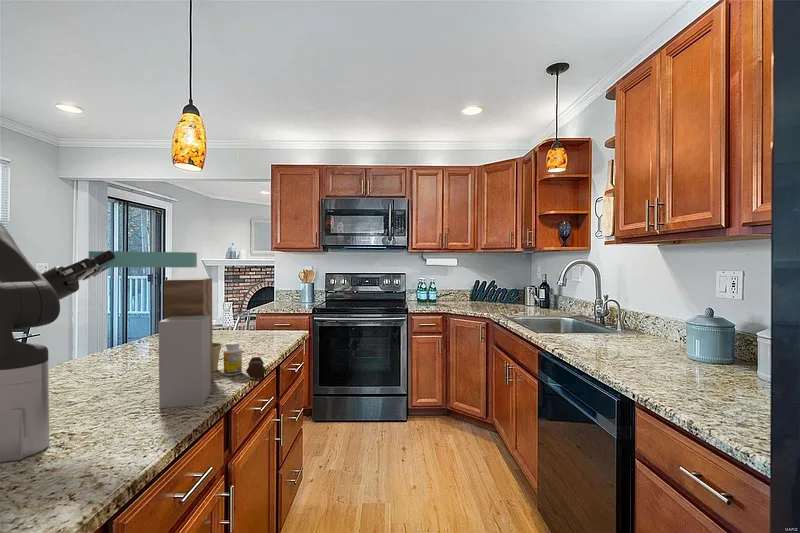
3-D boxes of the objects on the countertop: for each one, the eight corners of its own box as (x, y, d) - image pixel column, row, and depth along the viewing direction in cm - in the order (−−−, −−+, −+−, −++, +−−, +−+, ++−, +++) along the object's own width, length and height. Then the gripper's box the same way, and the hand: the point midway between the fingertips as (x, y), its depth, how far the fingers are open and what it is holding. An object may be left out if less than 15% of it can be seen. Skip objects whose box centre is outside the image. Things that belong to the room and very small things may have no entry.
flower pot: (192, 368, 139) (192, 344, 139) (222, 365, 143) (222, 341, 143) (191, 376, 131) (190, 349, 131) (222, 372, 135) (222, 346, 134)
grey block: (202, 405, 104) (201, 320, 104) (159, 408, 102) (158, 321, 102) (210, 392, 114) (210, 315, 114) (171, 395, 112) (170, 316, 111)
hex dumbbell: (258, 371, 143) (258, 382, 129) (245, 365, 142) (243, 375, 127) (266, 356, 144) (267, 365, 130) (253, 350, 143) (253, 359, 128)
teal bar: (192, 267, 107) (192, 252, 107) (88, 267, 101) (88, 251, 101) (196, 267, 111) (196, 252, 111) (96, 266, 105) (96, 251, 105)
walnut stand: (203, 392, 115) (203, 279, 114) (164, 394, 112) (163, 280, 112) (212, 379, 126) (212, 278, 126) (177, 382, 124) (176, 278, 123)
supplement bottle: (224, 372, 135) (224, 341, 135) (242, 370, 137) (242, 340, 137) (222, 376, 130) (222, 345, 130) (241, 375, 131) (240, 344, 131)
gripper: (21, 275, 94) (94, 239, 97) (57, 273, 108) (120, 242, 111) (40, 303, 95) (112, 266, 98) (74, 297, 109) (136, 266, 112)
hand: (116, 254), depth 105 cm, fingers closed on teal bar, 4 cm apart
